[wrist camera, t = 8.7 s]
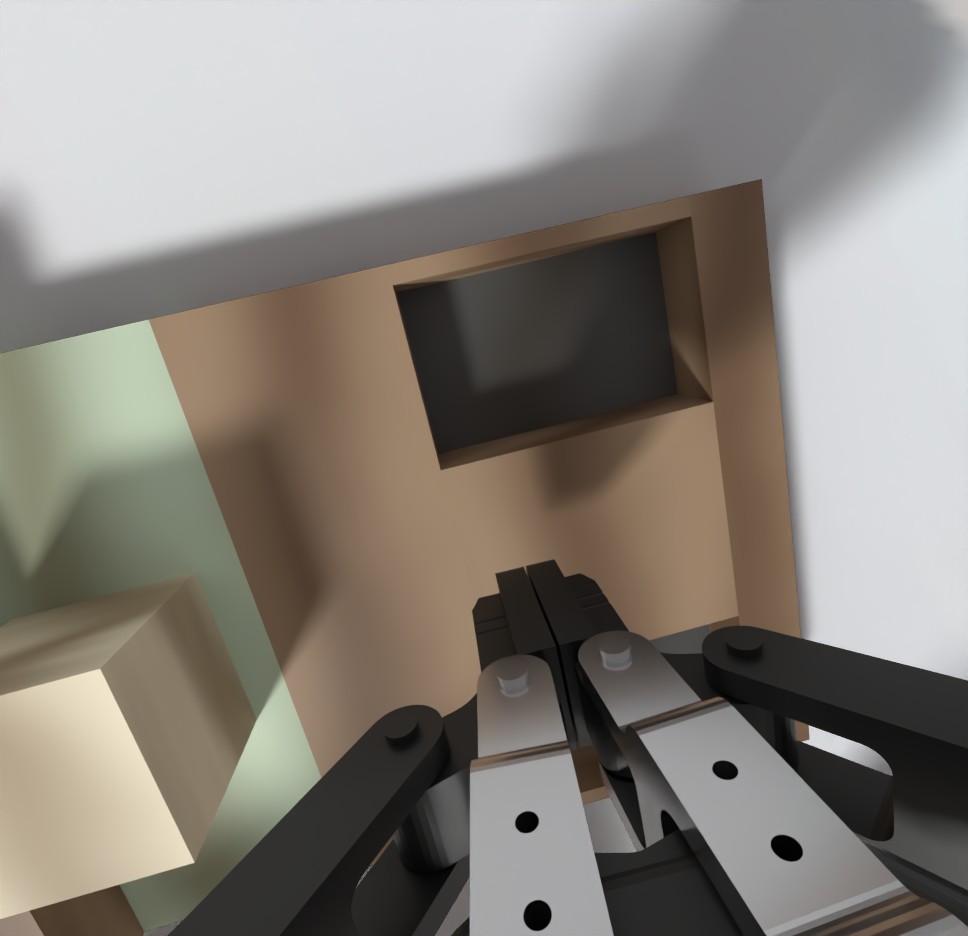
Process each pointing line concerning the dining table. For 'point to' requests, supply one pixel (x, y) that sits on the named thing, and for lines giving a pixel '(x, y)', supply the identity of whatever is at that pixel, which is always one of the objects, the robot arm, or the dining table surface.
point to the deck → (409, 481)
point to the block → (113, 740)
